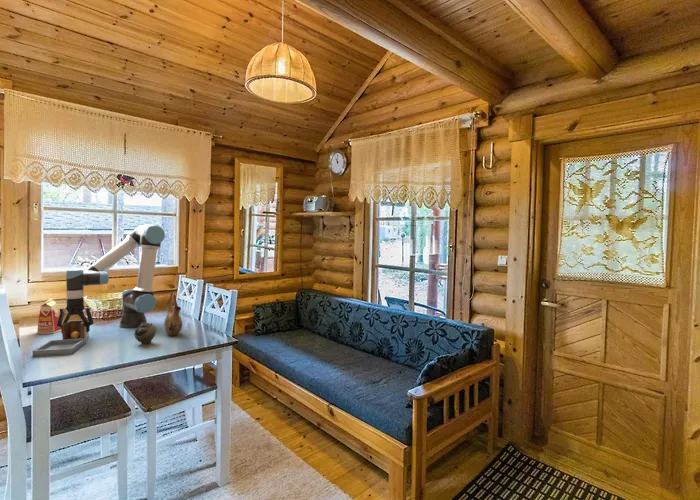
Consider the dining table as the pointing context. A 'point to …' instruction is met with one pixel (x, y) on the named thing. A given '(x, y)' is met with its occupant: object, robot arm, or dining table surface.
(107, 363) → the dining table surface
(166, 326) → the ceramic vessel
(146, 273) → the robot arm
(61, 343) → the tray
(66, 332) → the brown open box
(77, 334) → the ball
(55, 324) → the milk carton
